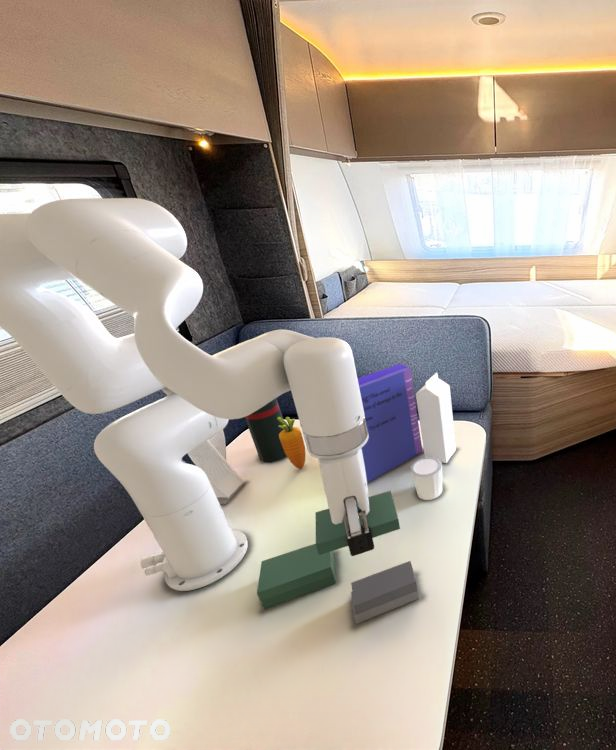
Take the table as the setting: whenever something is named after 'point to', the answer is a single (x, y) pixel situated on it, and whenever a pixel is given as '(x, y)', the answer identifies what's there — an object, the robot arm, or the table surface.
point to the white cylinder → (427, 477)
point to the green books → (294, 575)
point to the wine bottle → (267, 432)
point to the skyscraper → (217, 467)
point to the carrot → (292, 442)
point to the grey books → (383, 592)
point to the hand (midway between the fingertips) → (360, 531)
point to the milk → (436, 419)
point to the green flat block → (378, 518)
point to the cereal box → (389, 420)
